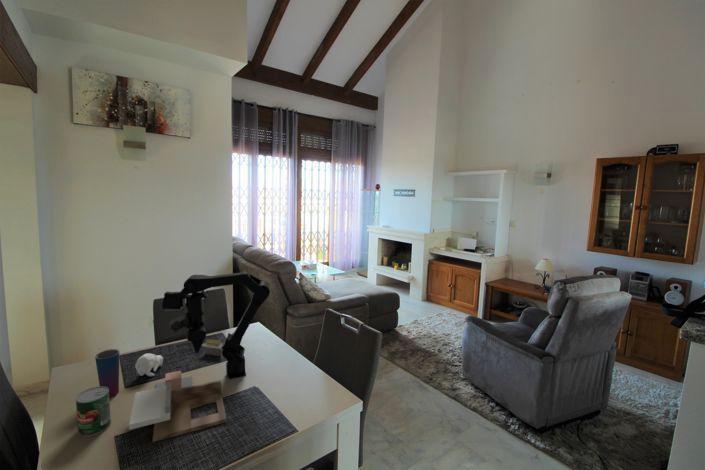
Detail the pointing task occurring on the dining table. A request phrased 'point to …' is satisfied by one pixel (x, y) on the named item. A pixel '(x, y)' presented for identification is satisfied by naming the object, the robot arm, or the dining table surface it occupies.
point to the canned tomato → (93, 411)
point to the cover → (151, 407)
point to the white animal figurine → (148, 364)
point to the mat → (185, 383)
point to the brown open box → (182, 414)
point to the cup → (108, 370)
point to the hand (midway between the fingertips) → (196, 347)
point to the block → (174, 380)
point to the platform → (213, 347)
